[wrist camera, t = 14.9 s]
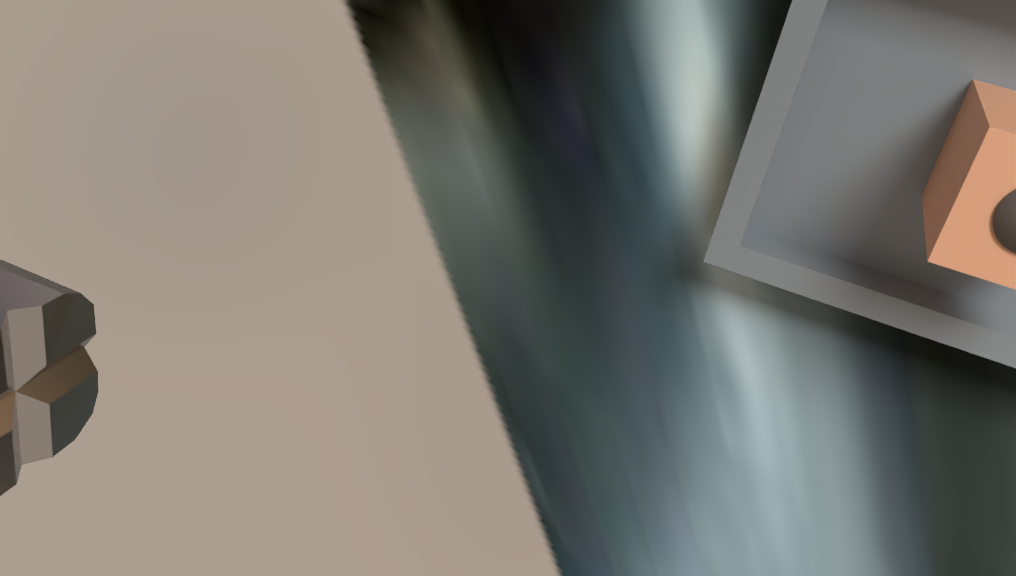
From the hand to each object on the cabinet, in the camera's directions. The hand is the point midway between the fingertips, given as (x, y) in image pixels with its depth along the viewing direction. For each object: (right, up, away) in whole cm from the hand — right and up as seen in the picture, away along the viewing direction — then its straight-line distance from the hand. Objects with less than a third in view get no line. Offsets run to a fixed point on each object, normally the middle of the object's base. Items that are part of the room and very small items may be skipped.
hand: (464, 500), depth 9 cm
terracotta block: (+16, +6, +22) cm, 28 cm away
